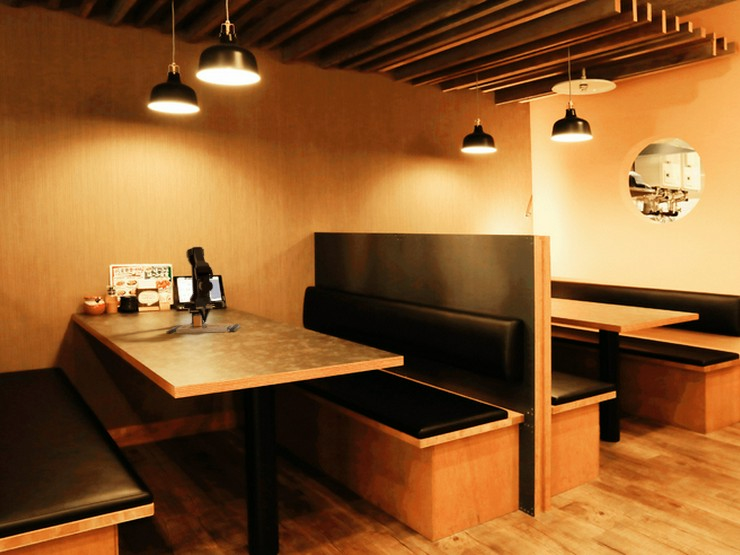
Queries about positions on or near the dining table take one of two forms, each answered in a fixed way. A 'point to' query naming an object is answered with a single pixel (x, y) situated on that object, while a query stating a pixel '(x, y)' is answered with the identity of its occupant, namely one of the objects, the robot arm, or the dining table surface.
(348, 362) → the dining table surface
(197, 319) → the block
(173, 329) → the cord
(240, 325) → the cord
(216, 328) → the faceplate
